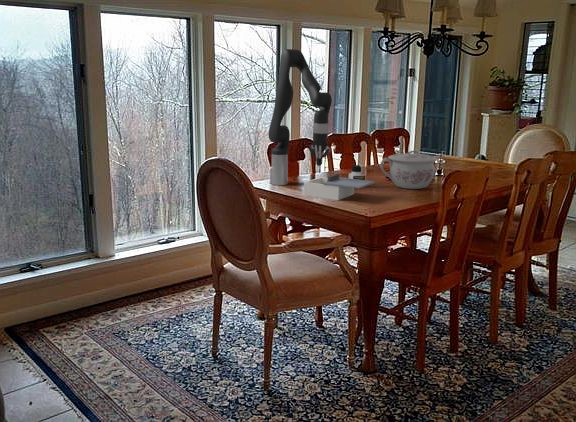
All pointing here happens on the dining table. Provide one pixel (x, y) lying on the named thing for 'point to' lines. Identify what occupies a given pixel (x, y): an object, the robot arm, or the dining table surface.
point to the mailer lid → (347, 182)
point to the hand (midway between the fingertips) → (319, 165)
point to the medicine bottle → (357, 173)
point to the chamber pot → (410, 169)
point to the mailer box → (326, 190)
